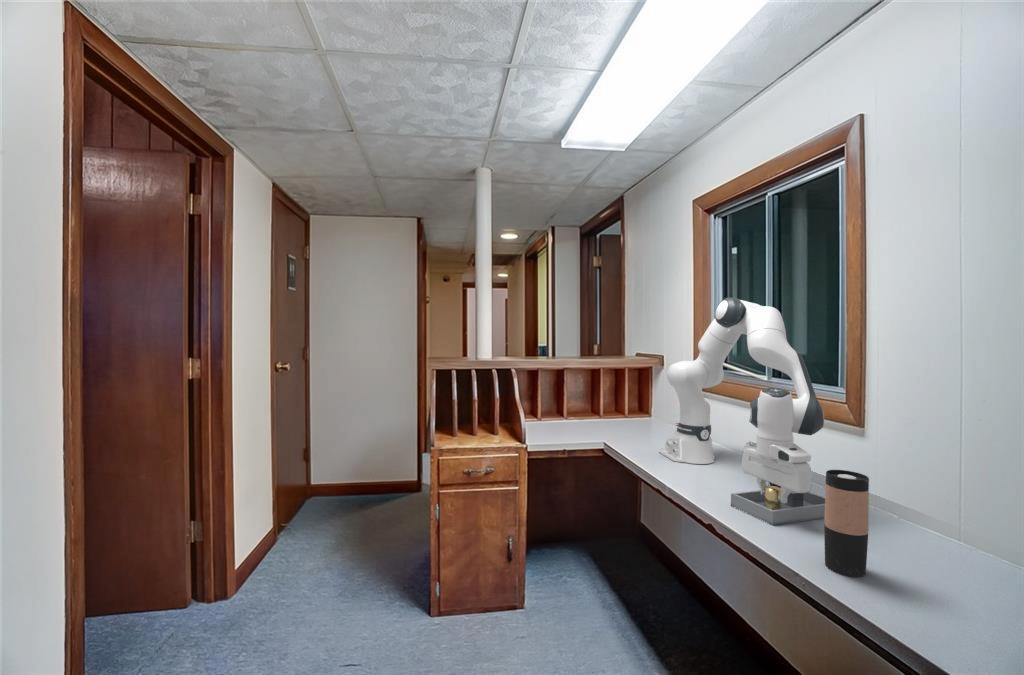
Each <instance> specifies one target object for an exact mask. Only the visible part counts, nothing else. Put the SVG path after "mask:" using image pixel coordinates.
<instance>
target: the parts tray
mask: <svg viewBox="0 0 1024 675" xmlns="http://www.w3.org/2000/svg"><path fill="white" fill-rule="evenodd" d="M730 506H731V507H732V506H733V507H732V508H734V507H736V508H738V509H737V510H739V509H740V510H739V511H741V510H742V511H741V512H743V511H744V512H743V513H745V512H747V513H749V514H751V515H753V516H755V517H754V518H756V517H757V518H756V519H758V518H759V519H758V520H760V519H761V521H762V520H763V521H762V522H764V521H765V523H766V522H767V524H768V523H769V525H771V526H778V525H785V524H792V523H799V522H806V521H815V520H821V519H824V518H825V496H822V495H819V494H817V493H814V492H810V491H809V492H806V493H804V496H803V506H802V507H794V508H792V507H790V506H787V505H785V504H782V503H781V509H778V510H771V509H769V508H767V507H765V496H764V495H761V489H759V490H751V491H740V492H734V493H733V492H731V493H730ZM736 508H735V509H736ZM747 513H746V514H747ZM749 514H748V515H749ZM751 515H750V516H751ZM753 516H752V517H753Z"/></svg>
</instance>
